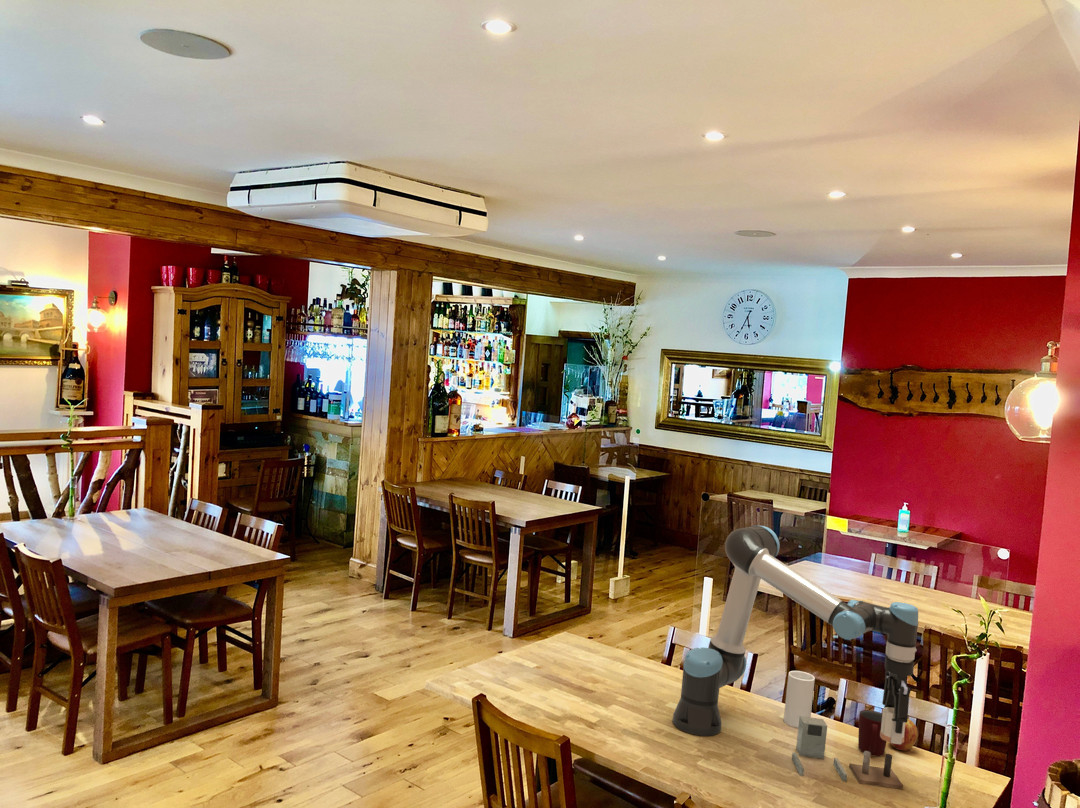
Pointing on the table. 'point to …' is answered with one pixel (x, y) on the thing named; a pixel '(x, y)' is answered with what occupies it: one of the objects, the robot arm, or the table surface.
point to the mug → (871, 733)
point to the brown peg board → (876, 773)
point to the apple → (908, 736)
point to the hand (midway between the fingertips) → (891, 738)
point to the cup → (798, 697)
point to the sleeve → (888, 724)
